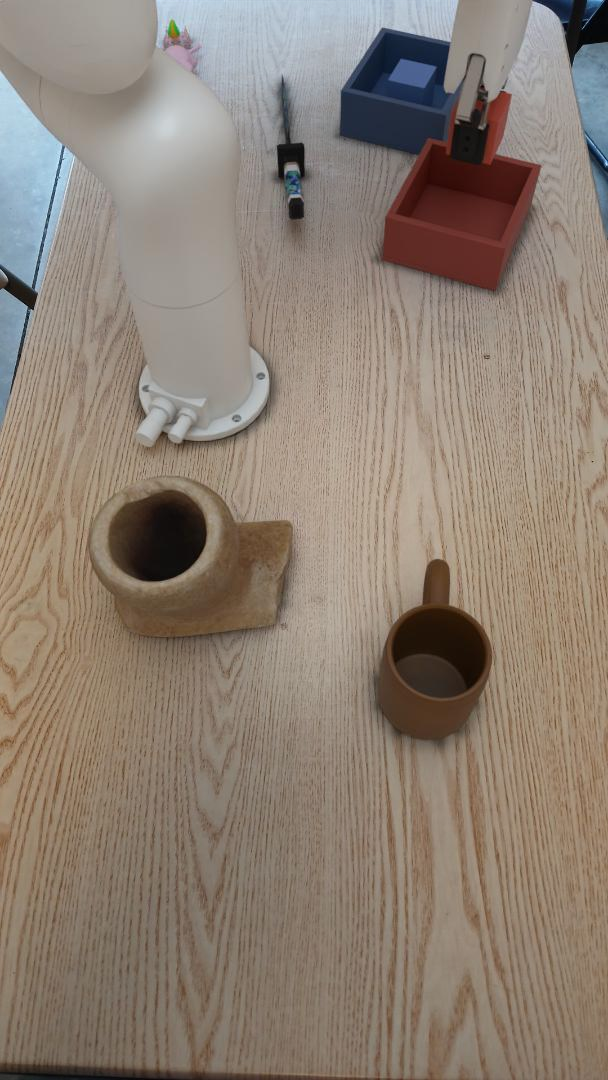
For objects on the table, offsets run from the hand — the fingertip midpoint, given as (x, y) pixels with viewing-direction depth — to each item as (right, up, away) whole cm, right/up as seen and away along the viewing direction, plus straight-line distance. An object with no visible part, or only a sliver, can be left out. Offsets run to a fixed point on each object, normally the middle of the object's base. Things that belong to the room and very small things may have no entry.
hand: (474, 142), depth 81 cm
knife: (-18, +6, +16) cm, 25 cm away
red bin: (0, -6, +10) cm, 11 cm away
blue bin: (-4, +13, +20) cm, 24 cm away
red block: (0, 0, 0) cm, 0 cm away
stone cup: (-25, -44, -11) cm, 52 cm away
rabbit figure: (-33, +21, +25) cm, 46 cm away
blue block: (-4, +13, +19) cm, 24 cm away
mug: (-7, -49, -15) cm, 52 cm away
